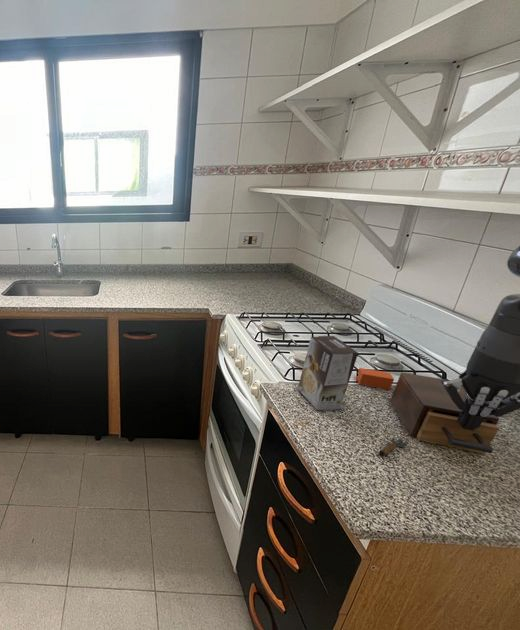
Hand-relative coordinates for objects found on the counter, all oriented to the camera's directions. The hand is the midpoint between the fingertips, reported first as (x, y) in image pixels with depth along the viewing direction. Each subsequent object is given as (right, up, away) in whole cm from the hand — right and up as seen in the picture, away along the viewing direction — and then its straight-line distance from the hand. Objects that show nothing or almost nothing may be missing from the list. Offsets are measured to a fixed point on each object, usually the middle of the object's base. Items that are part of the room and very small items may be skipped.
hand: (466, 427), depth 69 cm
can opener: (-11, -6, +4) cm, 13 cm away
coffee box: (-17, +1, +20) cm, 27 cm away
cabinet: (+4, -3, +11) cm, 12 cm away
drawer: (+2, -4, +7) cm, 8 cm away
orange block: (+2, +4, +26) cm, 26 cm away
